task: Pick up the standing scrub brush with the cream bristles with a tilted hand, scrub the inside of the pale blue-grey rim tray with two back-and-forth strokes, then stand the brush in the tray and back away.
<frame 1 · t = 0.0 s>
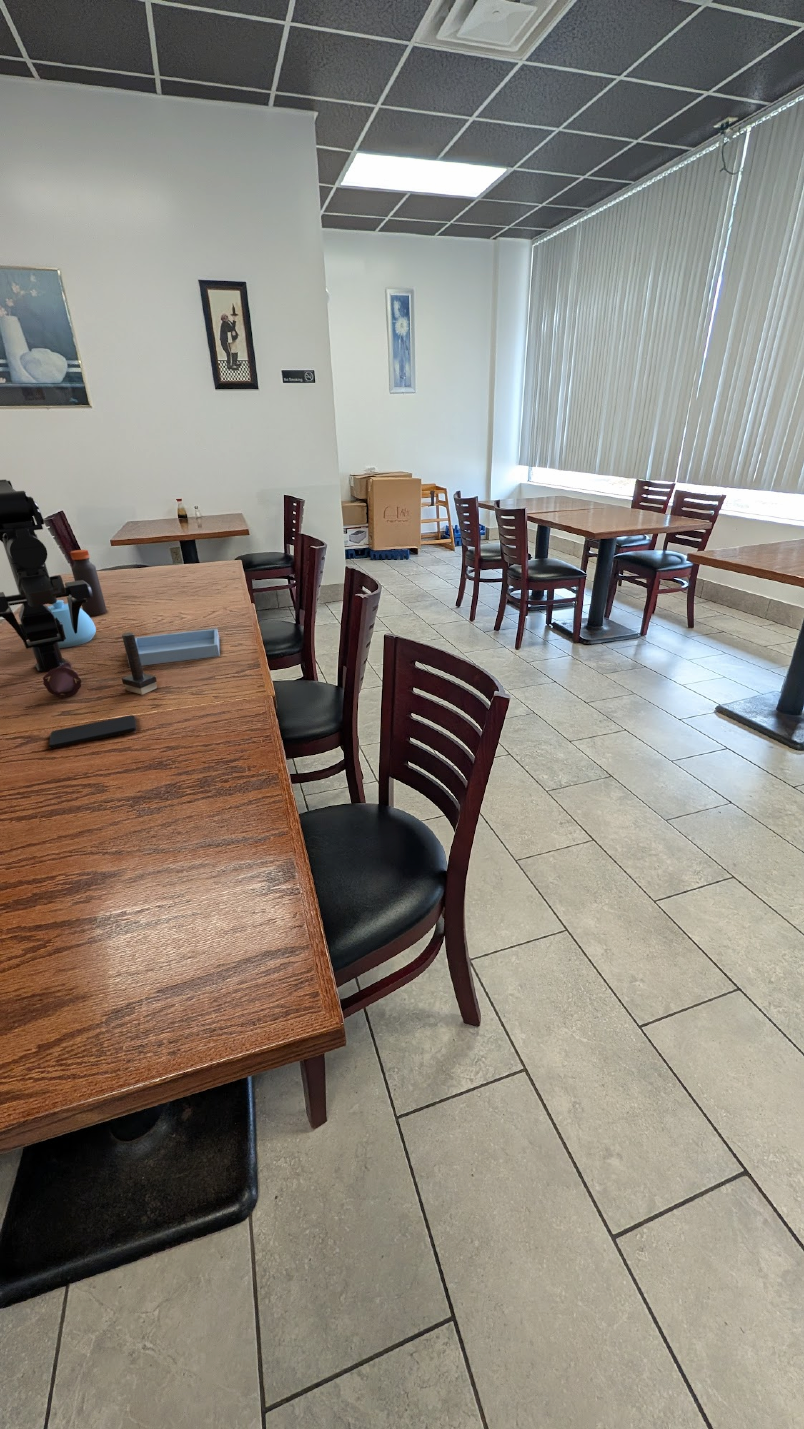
hand: (51, 637, 120), 15 cm above the table, tool pointing down, fingers open, 9 cm apart
brush: (141, 689, 132), on the table
bottle: (96, 614, 191), on the table
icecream: (67, 696, 130), on the table
tray: (176, 652, 154), on the table
smartphone: (94, 734, 113), on the table
sugar bowl: (69, 641, 166), on the table
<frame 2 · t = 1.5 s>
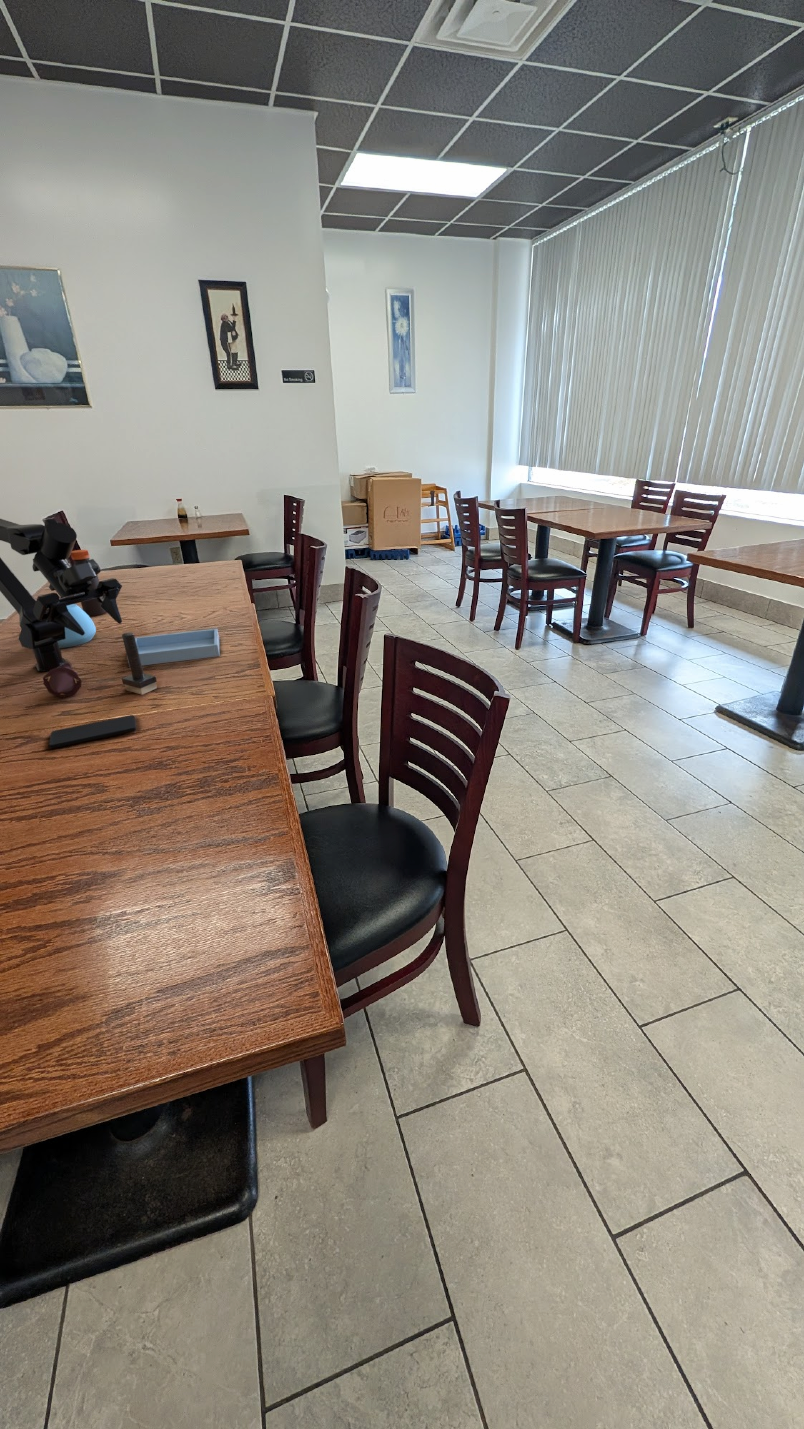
hand: (102, 628, 130), 13 cm above the table, tool tilted 45°, fingers open, 9 cm apart
nothing on the table moved.
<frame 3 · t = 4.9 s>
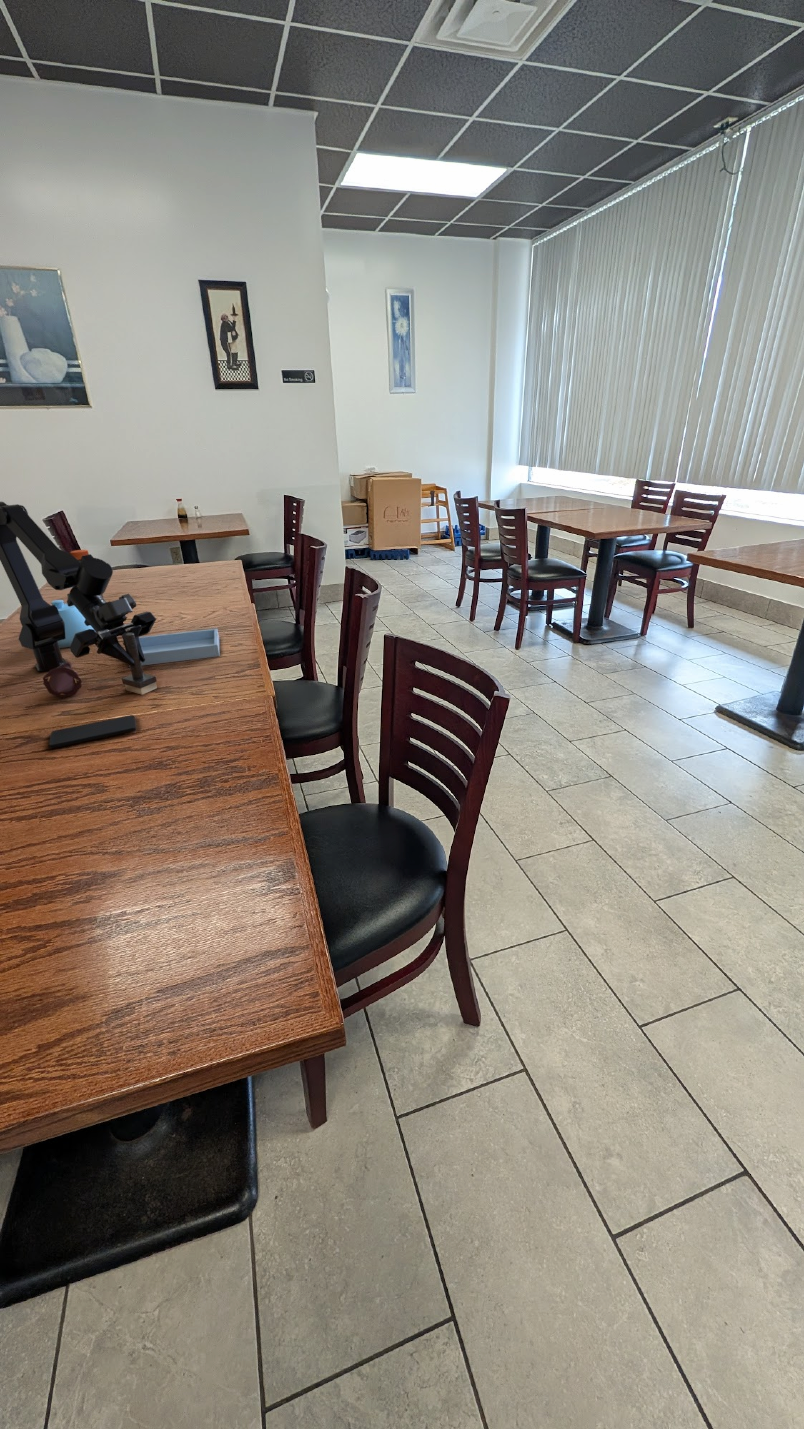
hand: (138, 663, 128), 7 cm above the table, tool tilted 45°, fingers closed on brush, 2 cm apart
brush: (141, 689, 132), on the table, touching gripper
everything else where it was.
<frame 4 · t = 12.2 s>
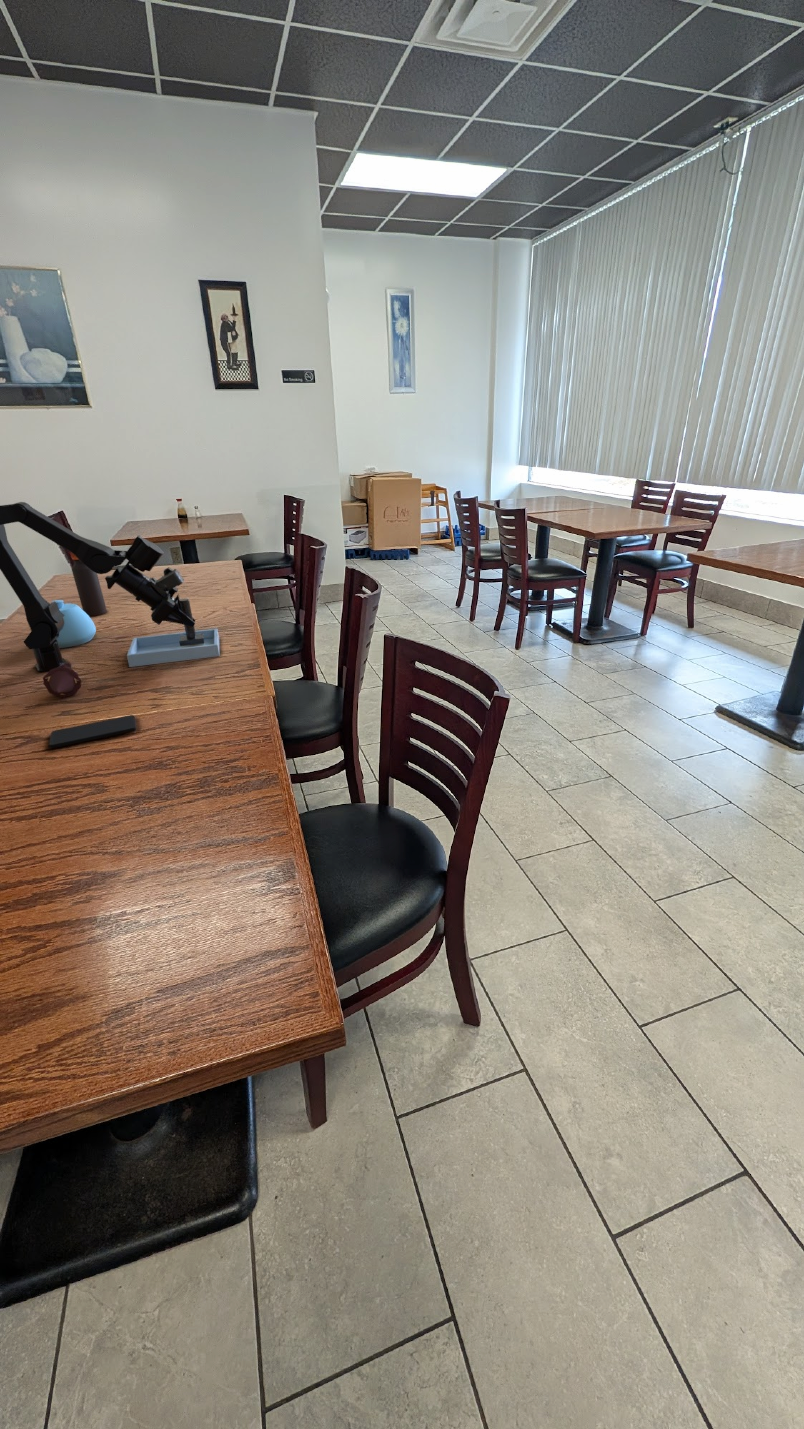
hand: (194, 623, 152), 7 cm above the table, tool tilted 45°, fingers closed on brush, 2 cm apart
brush: (193, 648, 155), point 1 cm above the table, touching gripper
everything else where it was.
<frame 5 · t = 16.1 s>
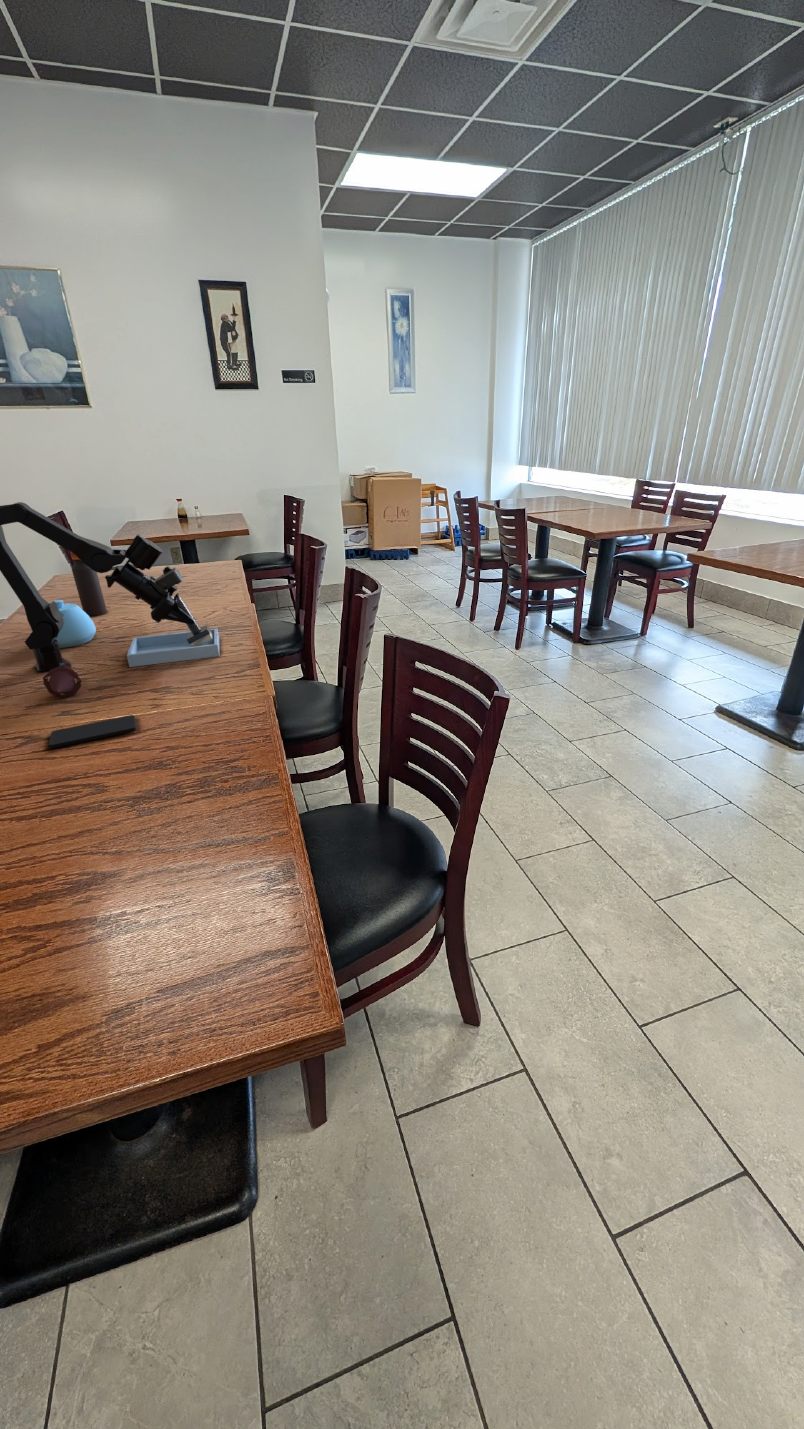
hand: (193, 621, 153), 7 cm above the table, tool tilted 45°, fingers closed on brush, 2 cm apart
brush: (203, 641, 156), point 2 cm above the table, tilted 21°, touching gripper
everything else where it was.
when the fingers open (7 cm above the table, at t = 19.7 s): brush drops 1 cm, resting on tray.
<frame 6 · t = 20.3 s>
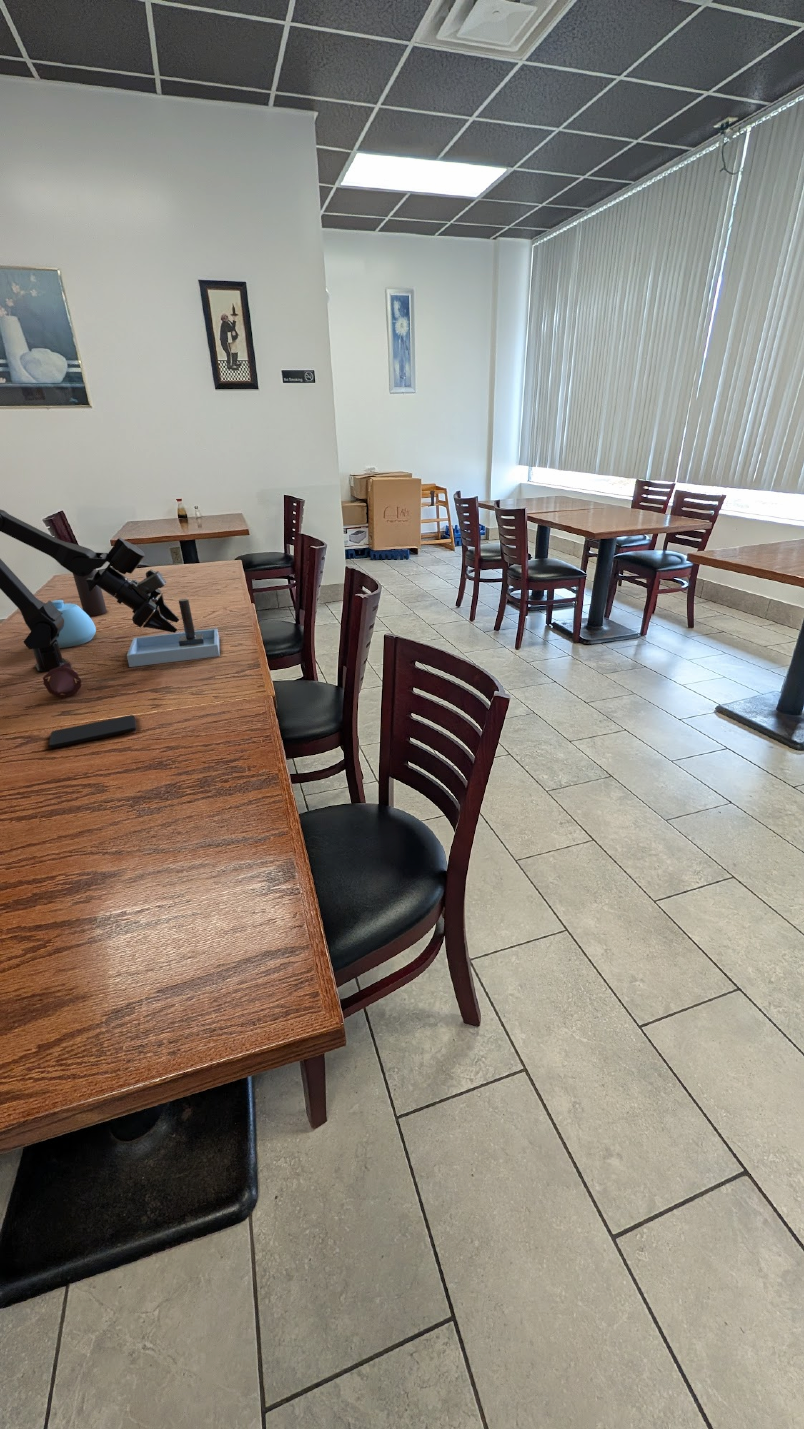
hand: (177, 626, 151), 7 cm above the table, tool tilted 45°, fingers open, 9 cm apart
brush: (193, 648, 155), point 1 cm above the table, touching tray
everything else where it was.
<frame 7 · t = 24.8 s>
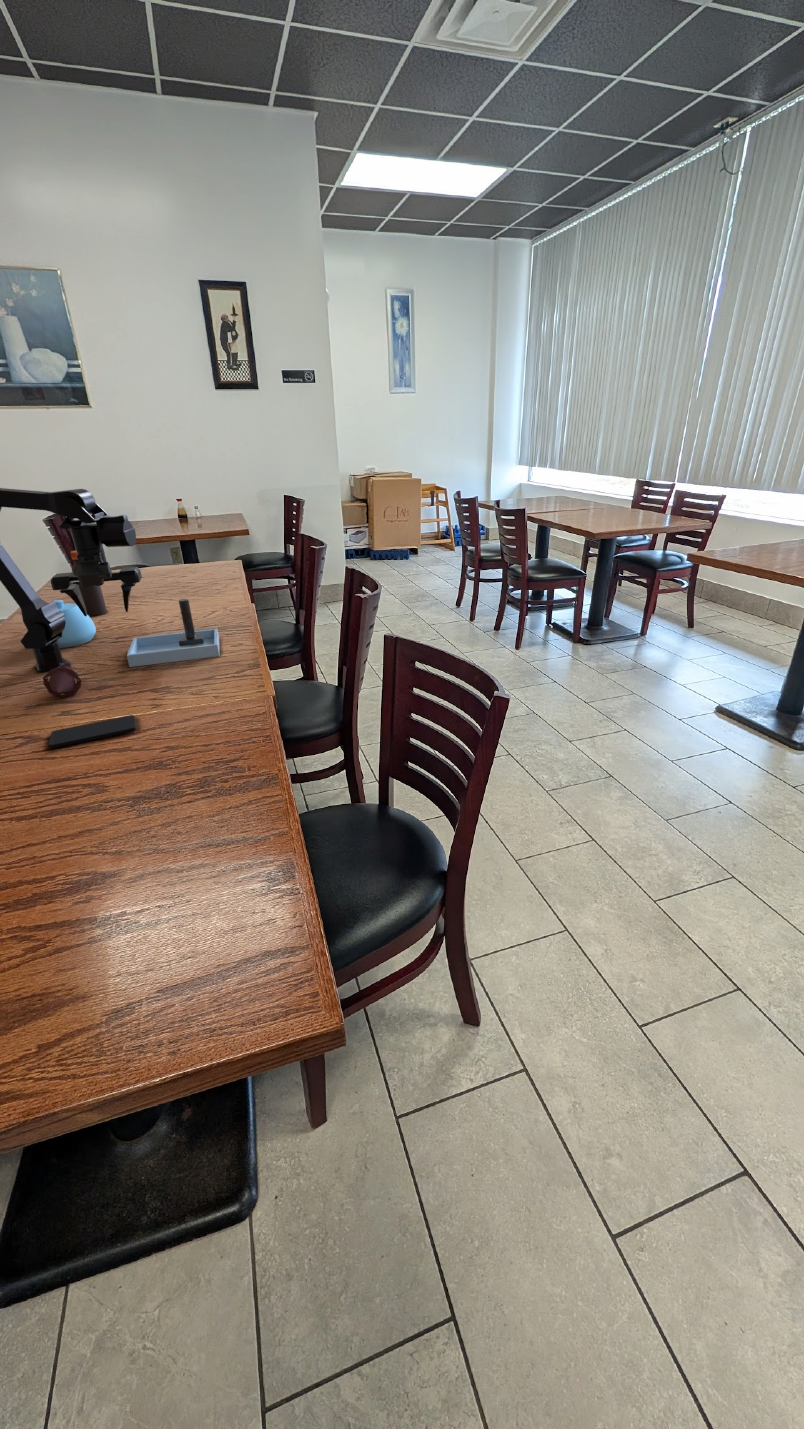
hand: (106, 613, 142), 13 cm above the table, tool pointing down, fingers open, 9 cm apart
nothing on the table moved.
at the end: brush inside the target area in the tray (4.1 cm from its centre), point 0.6 cm above the tray's base; brush tilted 0°; the gripper is holding nothing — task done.
